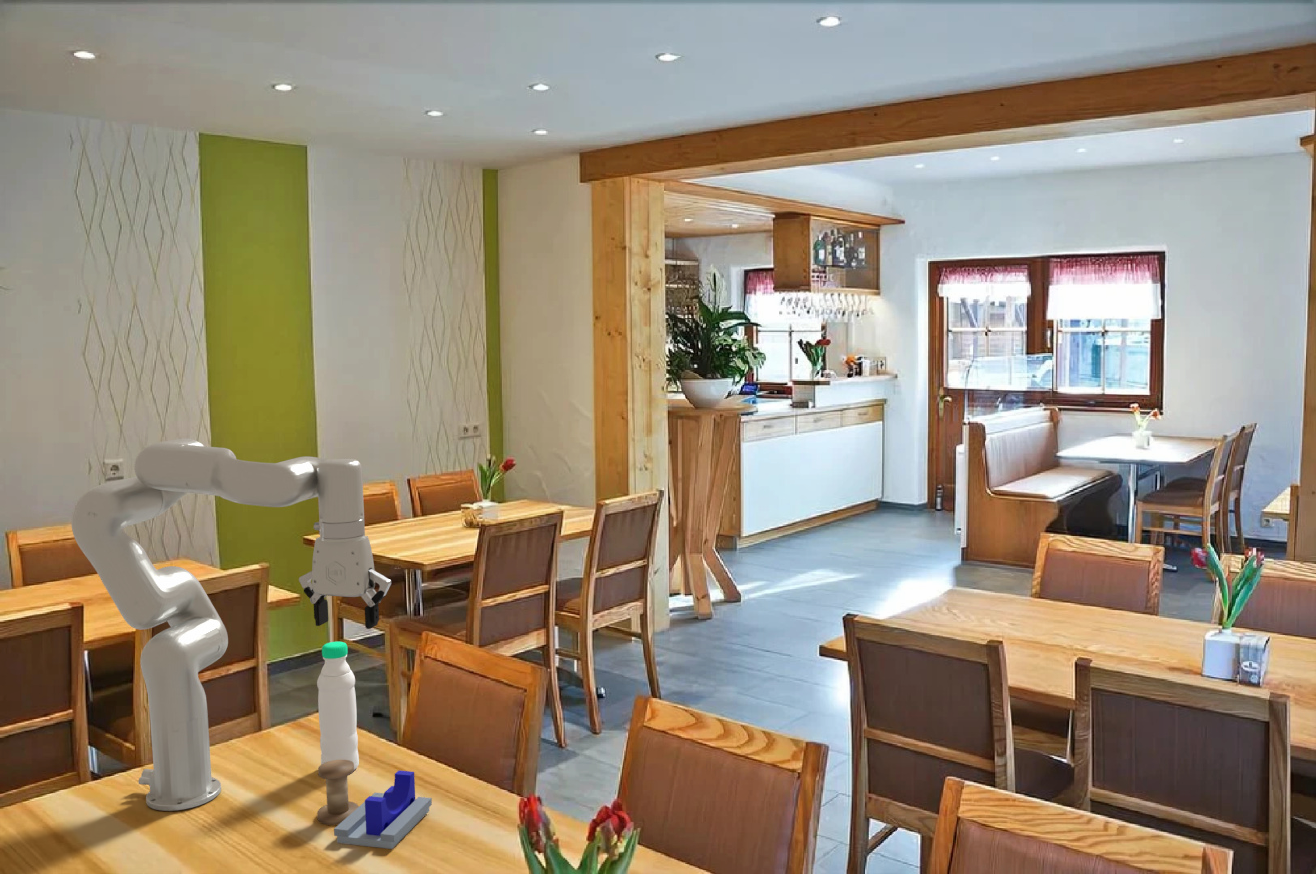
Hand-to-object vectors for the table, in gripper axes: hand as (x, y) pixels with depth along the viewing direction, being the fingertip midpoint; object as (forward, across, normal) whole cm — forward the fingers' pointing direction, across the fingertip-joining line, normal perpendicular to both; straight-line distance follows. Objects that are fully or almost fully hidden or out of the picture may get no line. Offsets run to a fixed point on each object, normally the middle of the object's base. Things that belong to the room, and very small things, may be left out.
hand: (346, 625), depth 187 cm
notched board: (+33, +9, -6) cm, 35 cm away
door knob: (+33, -1, -4) cm, 34 cm away
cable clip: (+32, +9, -6) cm, 34 cm away
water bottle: (+34, -11, +14) cm, 38 cm away
